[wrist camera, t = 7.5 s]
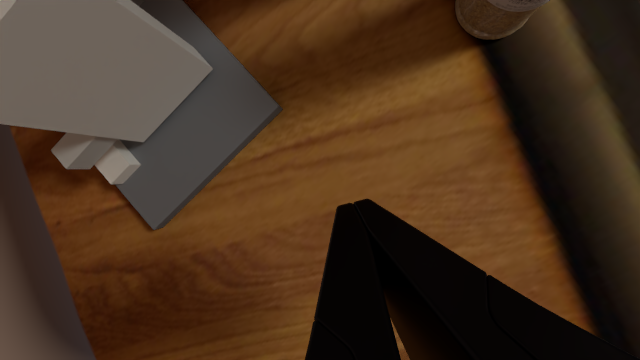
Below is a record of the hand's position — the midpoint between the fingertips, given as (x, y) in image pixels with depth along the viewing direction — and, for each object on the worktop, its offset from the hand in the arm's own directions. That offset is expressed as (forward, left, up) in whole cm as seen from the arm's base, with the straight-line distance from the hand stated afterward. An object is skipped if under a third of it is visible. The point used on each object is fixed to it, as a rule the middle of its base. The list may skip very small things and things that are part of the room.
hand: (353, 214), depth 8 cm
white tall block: (+7, +13, -10) cm, 18 cm away
